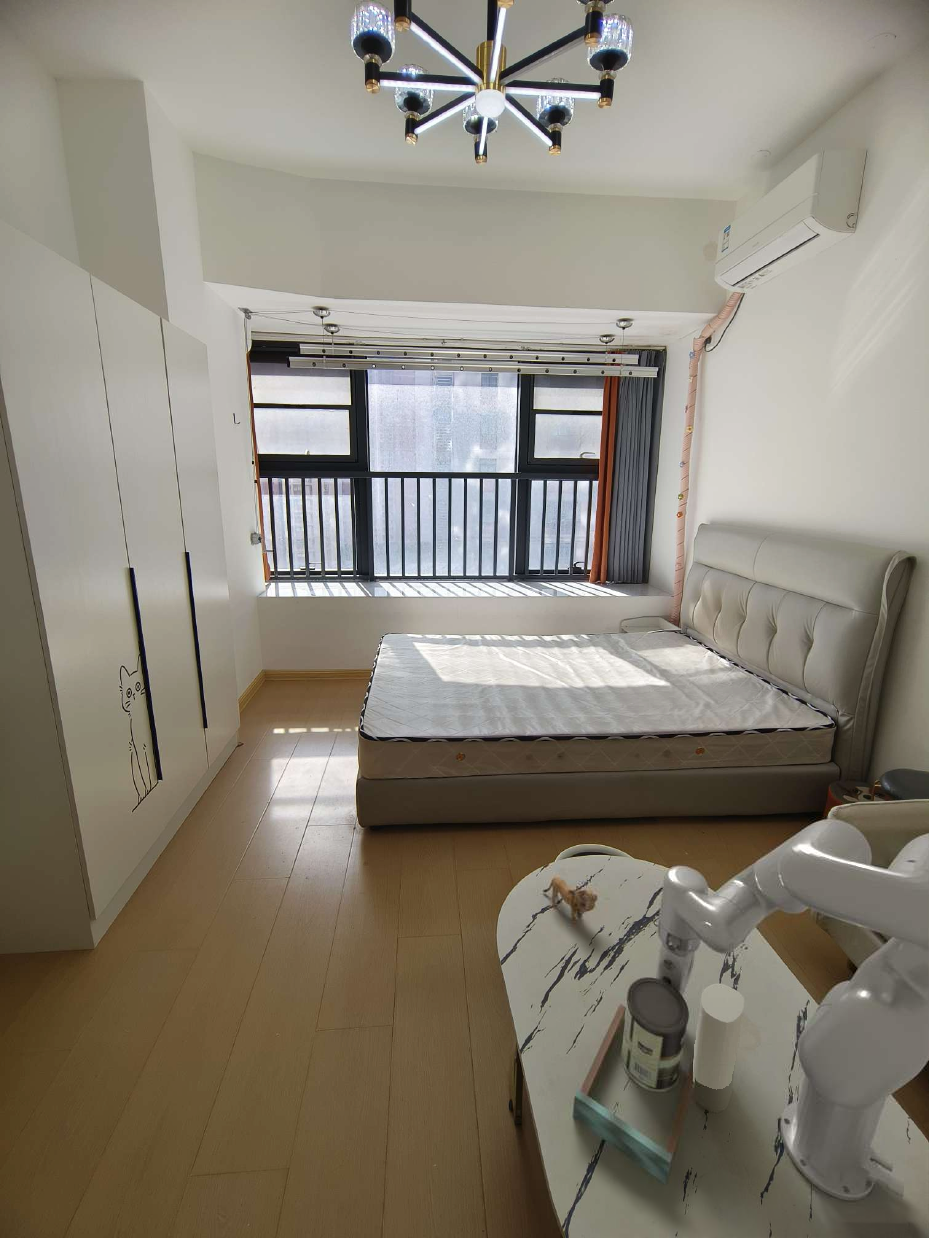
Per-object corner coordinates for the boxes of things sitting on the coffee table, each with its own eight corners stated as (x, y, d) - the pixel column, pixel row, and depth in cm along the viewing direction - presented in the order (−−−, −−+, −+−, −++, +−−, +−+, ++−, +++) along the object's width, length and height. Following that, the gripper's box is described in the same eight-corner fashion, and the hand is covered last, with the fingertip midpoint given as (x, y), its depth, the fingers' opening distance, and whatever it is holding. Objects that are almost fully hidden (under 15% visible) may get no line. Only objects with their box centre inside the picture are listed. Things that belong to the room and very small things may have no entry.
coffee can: (674, 1038, 104) (683, 982, 100) (684, 1098, 94) (694, 1038, 90) (618, 1027, 106) (624, 971, 102) (622, 1085, 96) (629, 1026, 92)
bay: (700, 1063, 99) (704, 1043, 98) (666, 1184, 83) (669, 1162, 82) (618, 1015, 108) (620, 995, 107) (572, 1116, 92) (574, 1095, 90)
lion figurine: (599, 919, 130) (601, 889, 128) (586, 933, 126) (589, 902, 124) (548, 887, 140) (550, 858, 137) (535, 898, 136) (537, 869, 134)
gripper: (689, 970, 94) (677, 1047, 100) (709, 913, 106) (698, 985, 111) (646, 948, 99) (636, 1023, 104) (670, 896, 110) (660, 966, 115)
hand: (668, 1003), depth 108 cm, fingers closed
